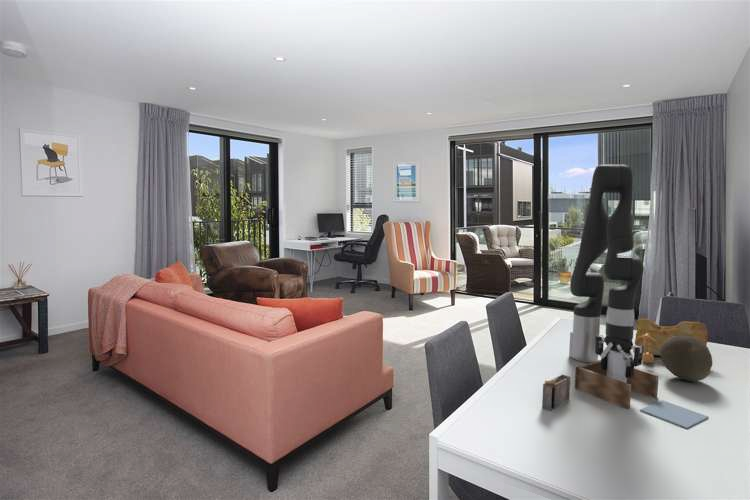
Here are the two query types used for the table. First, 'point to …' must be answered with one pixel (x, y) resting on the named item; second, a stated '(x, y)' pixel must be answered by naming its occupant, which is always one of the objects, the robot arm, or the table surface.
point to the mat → (674, 414)
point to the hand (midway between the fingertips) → (616, 373)
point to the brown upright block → (556, 392)
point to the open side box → (614, 384)
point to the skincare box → (616, 366)
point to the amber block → (668, 333)
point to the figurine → (646, 356)
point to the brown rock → (686, 358)
